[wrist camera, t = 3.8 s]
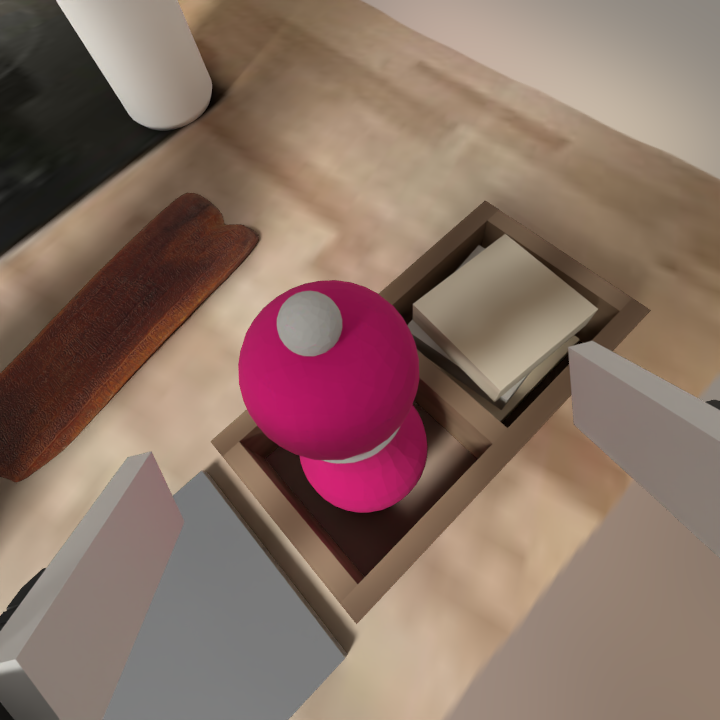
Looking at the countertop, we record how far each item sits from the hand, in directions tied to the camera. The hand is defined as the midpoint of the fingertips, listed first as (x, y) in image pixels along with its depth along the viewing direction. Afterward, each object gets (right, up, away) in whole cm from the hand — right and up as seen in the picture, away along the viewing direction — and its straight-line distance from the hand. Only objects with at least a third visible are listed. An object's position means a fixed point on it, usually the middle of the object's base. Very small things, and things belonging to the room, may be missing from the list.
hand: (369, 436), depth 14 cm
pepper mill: (0, -4, +16) cm, 16 cm away
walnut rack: (+4, -1, +17) cm, 17 cm away
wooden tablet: (-20, +5, +23) cm, 31 cm away
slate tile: (-11, -14, +13) cm, 22 cm away
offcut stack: (+8, +3, +18) cm, 20 cm away
